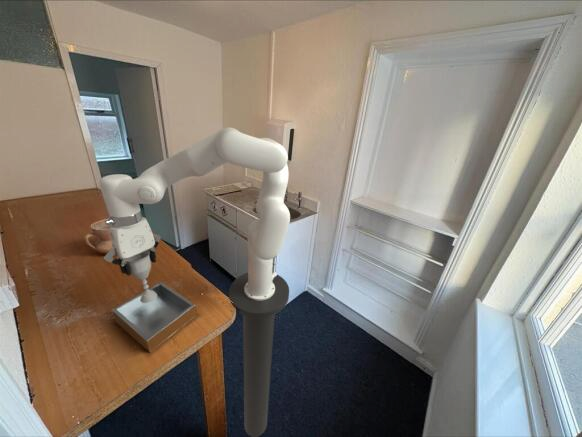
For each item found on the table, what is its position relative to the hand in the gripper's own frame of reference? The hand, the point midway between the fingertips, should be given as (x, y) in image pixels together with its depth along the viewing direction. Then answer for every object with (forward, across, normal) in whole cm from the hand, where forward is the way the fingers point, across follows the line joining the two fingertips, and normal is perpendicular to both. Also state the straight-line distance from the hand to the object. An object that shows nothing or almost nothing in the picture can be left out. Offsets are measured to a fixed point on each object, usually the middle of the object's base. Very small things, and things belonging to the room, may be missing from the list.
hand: (140, 266), depth 75 cm
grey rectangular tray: (+20, -1, -4) cm, 21 cm away
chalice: (+14, 0, 0) cm, 14 cm away
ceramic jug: (+20, +11, +52) cm, 57 cm away
